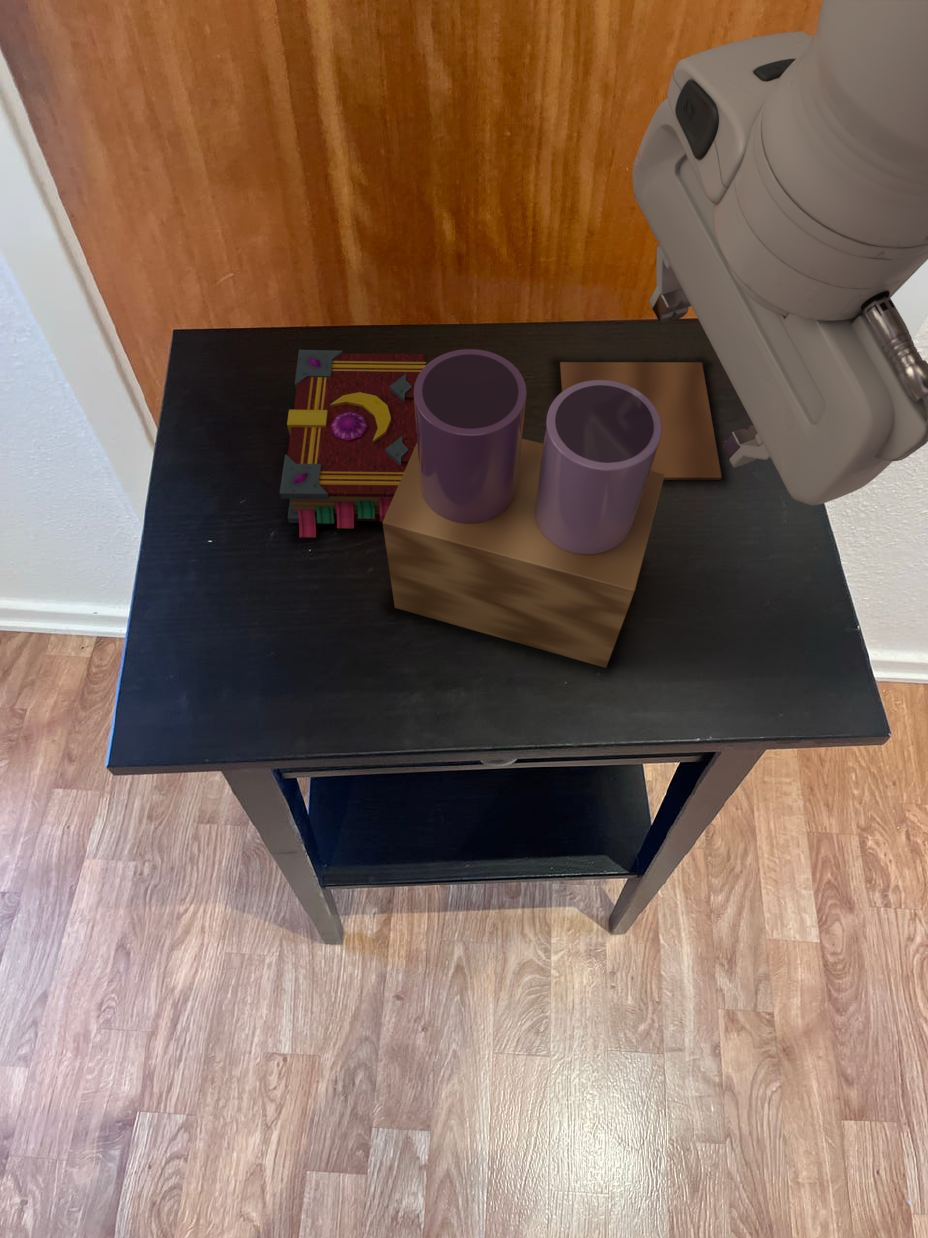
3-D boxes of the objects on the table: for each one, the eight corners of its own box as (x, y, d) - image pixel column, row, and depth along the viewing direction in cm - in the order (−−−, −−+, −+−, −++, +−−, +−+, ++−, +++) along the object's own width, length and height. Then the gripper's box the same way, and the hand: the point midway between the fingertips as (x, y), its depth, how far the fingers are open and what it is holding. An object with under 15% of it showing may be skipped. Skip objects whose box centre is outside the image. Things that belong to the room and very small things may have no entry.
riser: (633, 564, 69) (665, 473, 59) (606, 668, 65) (634, 591, 54) (433, 511, 71) (428, 414, 61) (394, 608, 67) (382, 522, 57)
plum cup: (537, 483, 58) (550, 390, 50) (469, 541, 56) (470, 454, 48) (468, 428, 60) (469, 331, 52) (399, 483, 58) (390, 389, 50)
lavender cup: (654, 512, 57) (686, 422, 49) (588, 573, 55) (610, 489, 47) (579, 456, 59) (598, 361, 51) (513, 512, 57) (522, 422, 49)
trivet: (701, 365, 79) (702, 361, 79) (720, 480, 73) (721, 477, 73) (559, 364, 79) (560, 361, 79) (567, 480, 73) (568, 477, 73)
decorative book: (431, 387, 78) (429, 346, 73) (425, 538, 70) (423, 503, 66) (305, 386, 78) (296, 345, 73) (286, 536, 70) (275, 501, 66)
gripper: (1019, 398, 34) (833, 525, 47) (783, 2, 38) (672, 222, 51) (889, 446, 33) (735, 563, 46) (659, 31, 37) (578, 249, 50)
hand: (701, 380), depth 49 cm, fingers open, 8 cm apart
